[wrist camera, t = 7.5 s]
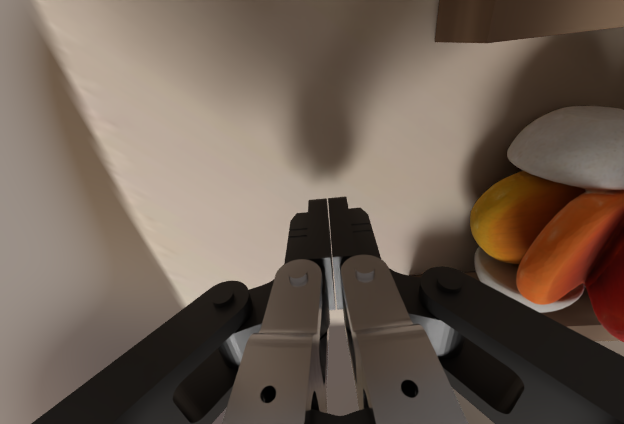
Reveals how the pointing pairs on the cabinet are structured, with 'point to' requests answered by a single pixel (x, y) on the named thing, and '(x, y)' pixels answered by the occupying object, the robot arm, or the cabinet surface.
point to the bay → (520, 25)
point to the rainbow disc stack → (559, 216)
